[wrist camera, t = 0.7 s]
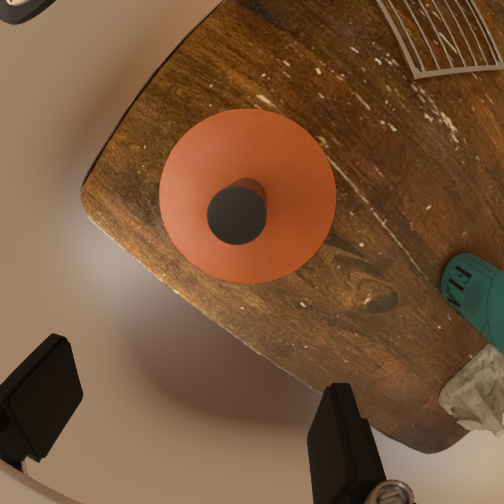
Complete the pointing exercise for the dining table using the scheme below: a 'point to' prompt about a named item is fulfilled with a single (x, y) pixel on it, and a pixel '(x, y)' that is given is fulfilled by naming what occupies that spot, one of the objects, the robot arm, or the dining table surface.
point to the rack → (414, 72)
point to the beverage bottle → (477, 295)
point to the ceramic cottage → (477, 392)
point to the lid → (247, 196)
